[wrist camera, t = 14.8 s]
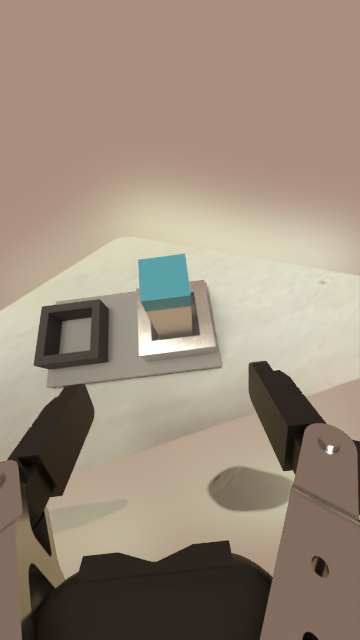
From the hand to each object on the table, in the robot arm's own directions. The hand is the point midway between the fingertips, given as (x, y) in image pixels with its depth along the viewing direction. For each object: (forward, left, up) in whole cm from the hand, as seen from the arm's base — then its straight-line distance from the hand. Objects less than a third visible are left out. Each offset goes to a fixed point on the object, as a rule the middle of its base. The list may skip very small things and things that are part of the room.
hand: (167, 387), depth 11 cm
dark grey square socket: (-13, +9, -17) cm, 23 cm away
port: (0, +9, -17) cm, 19 cm away
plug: (0, +9, -16) cm, 18 cm away
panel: (-6, +9, -17) cm, 20 cm away
